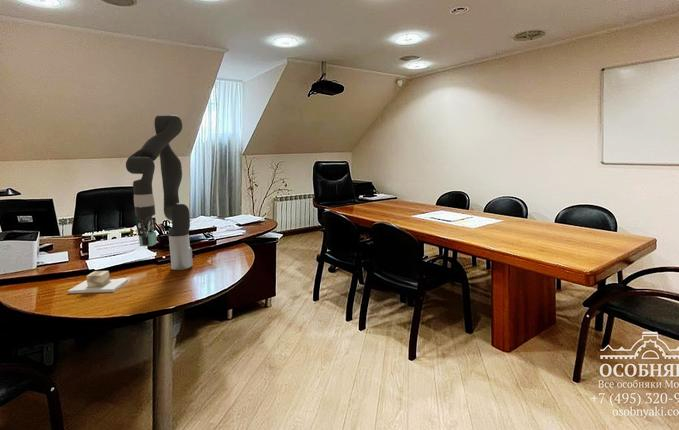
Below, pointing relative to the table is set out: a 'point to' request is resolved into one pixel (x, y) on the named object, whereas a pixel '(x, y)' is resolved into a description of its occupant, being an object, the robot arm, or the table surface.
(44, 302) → the table surface
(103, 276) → the birch block
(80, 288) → the board
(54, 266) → the table surface
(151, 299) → the table surface
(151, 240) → the teal cube
